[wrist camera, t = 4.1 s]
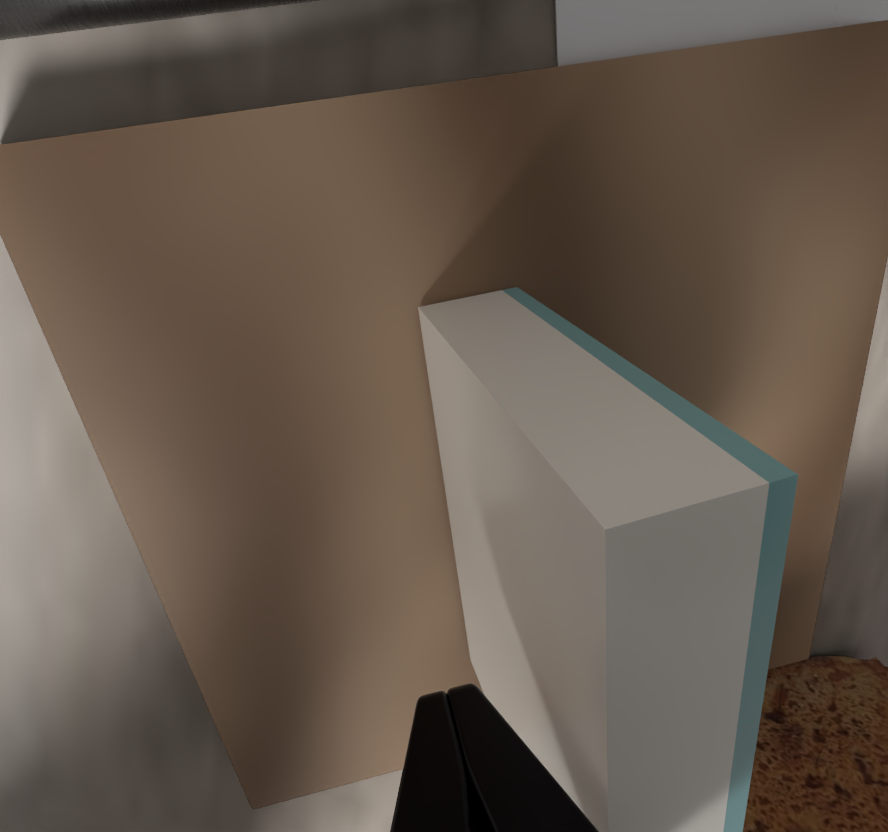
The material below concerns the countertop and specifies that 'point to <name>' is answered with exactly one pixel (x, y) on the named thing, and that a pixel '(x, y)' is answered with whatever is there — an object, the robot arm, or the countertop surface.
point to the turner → (575, 5)
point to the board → (401, 344)
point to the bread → (822, 748)
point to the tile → (607, 563)
